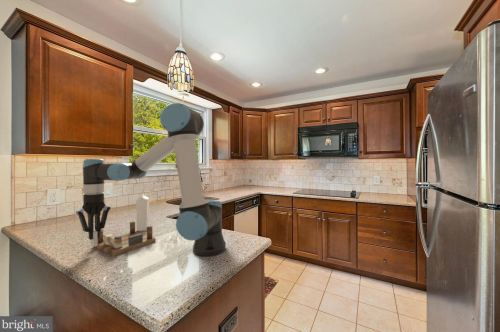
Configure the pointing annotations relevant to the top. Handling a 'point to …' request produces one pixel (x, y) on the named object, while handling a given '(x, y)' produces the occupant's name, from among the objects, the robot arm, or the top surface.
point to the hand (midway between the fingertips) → (94, 245)
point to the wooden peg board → (127, 241)
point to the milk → (142, 213)
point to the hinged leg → (112, 240)
